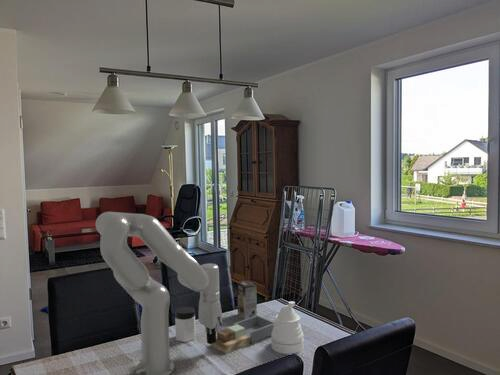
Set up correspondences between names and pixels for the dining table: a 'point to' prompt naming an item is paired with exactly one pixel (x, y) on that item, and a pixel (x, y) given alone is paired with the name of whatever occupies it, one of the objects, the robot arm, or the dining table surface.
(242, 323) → the tray
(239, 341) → the board
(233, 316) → the dining table surface
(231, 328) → the tile far
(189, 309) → the jar
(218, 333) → the tile near
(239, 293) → the coffee box
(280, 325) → the honey pot
